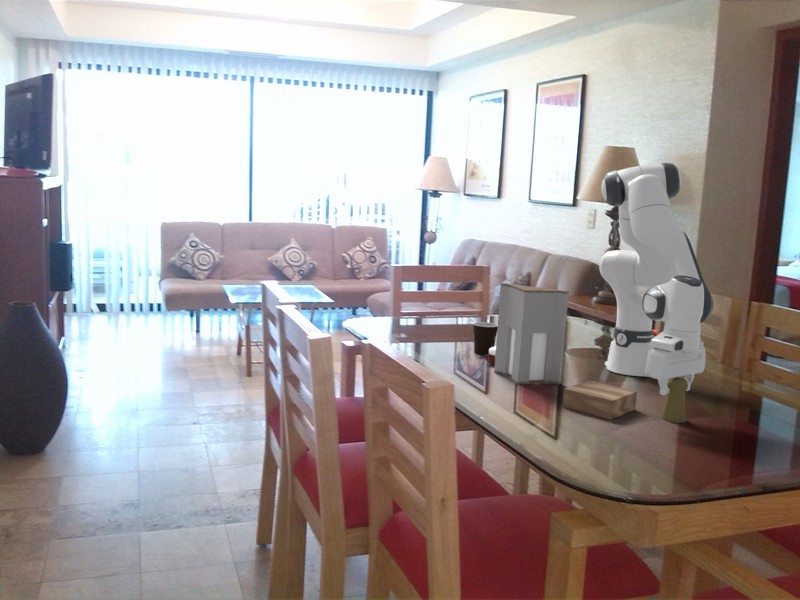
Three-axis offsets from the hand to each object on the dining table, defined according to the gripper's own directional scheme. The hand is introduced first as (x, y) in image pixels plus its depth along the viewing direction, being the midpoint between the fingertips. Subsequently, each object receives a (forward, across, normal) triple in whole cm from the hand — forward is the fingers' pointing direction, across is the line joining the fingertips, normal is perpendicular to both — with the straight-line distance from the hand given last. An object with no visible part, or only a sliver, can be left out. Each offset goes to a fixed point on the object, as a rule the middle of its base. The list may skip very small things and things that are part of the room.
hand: (674, 392), depth 197 cm
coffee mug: (+7, -9, -79) cm, 80 cm away
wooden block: (+7, +10, -16) cm, 20 cm away
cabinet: (+7, +8, -46) cm, 47 cm away
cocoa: (+7, 0, -64) cm, 64 cm away
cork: (+7, -1, 0) cm, 7 cm away
